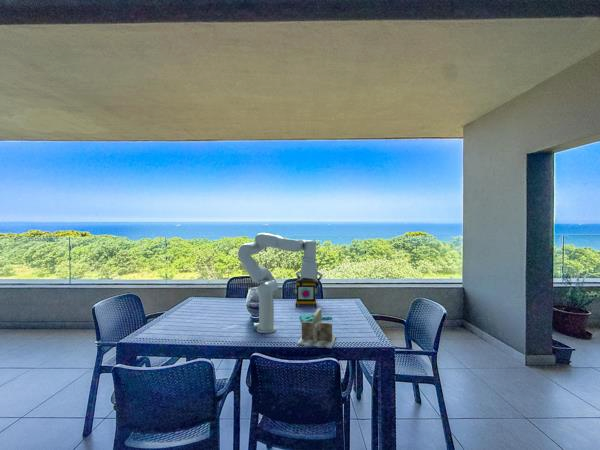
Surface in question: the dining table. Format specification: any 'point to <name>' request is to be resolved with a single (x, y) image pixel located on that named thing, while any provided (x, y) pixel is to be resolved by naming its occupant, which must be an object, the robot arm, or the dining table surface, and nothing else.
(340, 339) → the dining table surface
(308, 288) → the decorative lantern
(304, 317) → the alien figure
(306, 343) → the cross base
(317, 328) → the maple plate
